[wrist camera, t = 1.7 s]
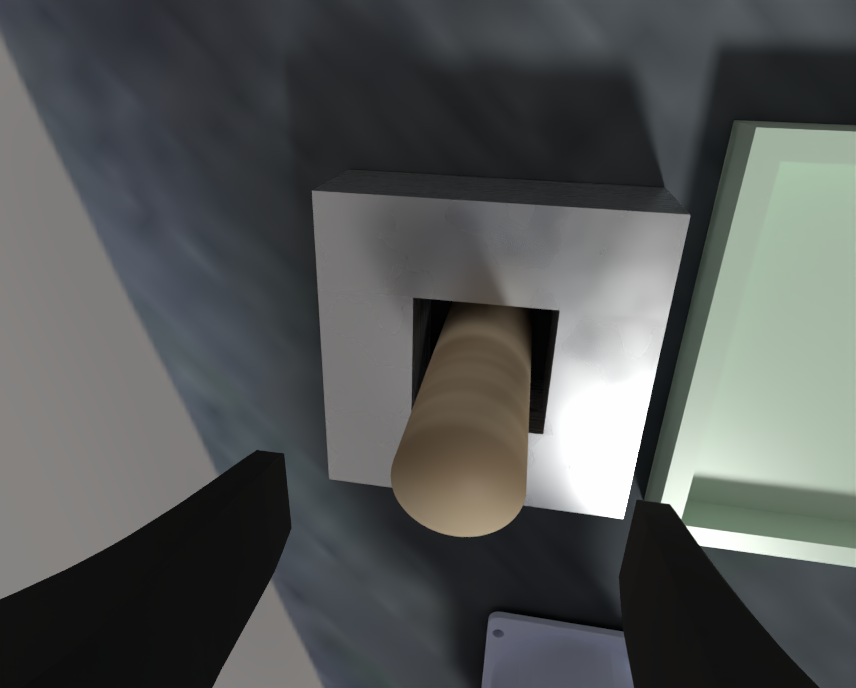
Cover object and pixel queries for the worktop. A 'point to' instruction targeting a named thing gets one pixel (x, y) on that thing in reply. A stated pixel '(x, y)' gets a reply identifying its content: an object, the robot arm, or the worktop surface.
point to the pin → (470, 424)
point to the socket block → (498, 285)
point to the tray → (770, 354)
